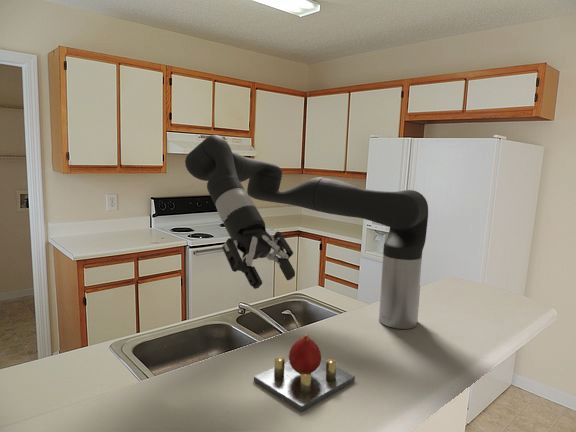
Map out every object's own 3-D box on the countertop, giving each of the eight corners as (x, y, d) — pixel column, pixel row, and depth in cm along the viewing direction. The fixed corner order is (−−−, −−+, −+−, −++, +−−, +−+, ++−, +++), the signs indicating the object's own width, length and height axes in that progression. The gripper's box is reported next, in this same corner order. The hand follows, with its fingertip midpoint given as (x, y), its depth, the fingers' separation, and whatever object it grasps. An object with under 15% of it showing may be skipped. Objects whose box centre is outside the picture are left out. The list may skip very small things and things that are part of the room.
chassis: (307, 357, 84) (307, 338, 84) (354, 381, 76) (355, 360, 75) (253, 381, 75) (254, 360, 74) (301, 412, 66) (302, 388, 65)
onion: (283, 370, 77) (285, 329, 76) (311, 365, 79) (313, 326, 78) (295, 387, 71) (297, 343, 70) (325, 381, 73) (327, 338, 72)
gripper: (257, 223, 93) (292, 285, 86) (203, 229, 83) (237, 299, 76) (274, 202, 88) (311, 265, 81) (218, 206, 78) (256, 278, 72)
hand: (275, 282), depth 79 cm, fingers open, 8 cm apart
